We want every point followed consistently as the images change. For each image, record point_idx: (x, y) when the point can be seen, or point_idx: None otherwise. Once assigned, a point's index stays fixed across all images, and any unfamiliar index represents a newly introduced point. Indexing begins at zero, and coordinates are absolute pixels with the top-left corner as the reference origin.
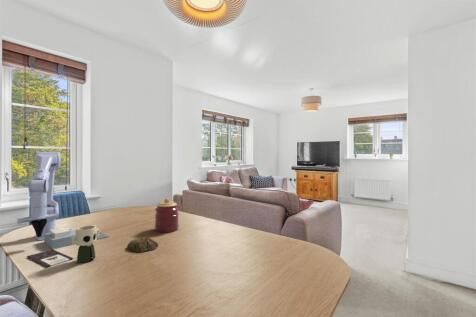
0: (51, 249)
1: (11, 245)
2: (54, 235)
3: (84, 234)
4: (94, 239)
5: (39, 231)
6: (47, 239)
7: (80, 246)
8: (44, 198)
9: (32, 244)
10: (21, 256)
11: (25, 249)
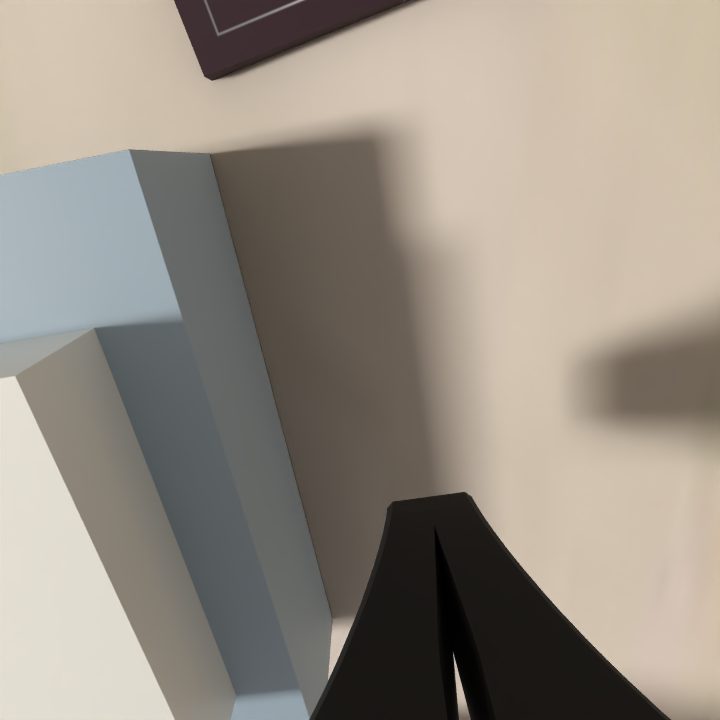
0: (217, 68)
1: (676, 707)
2: (80, 403)
3: None
4: None
5: (443, 643)
6: (280, 537)
7: None
8: None
9: None
10: (703, 63)
11: (578, 444)
